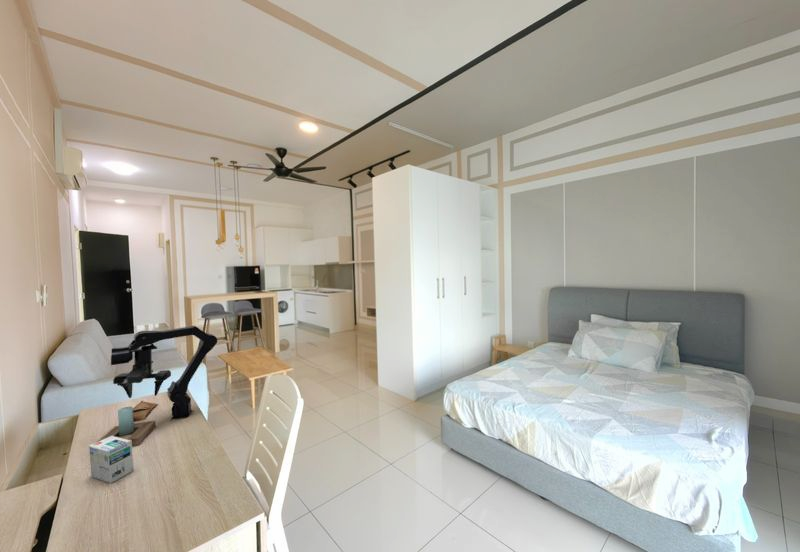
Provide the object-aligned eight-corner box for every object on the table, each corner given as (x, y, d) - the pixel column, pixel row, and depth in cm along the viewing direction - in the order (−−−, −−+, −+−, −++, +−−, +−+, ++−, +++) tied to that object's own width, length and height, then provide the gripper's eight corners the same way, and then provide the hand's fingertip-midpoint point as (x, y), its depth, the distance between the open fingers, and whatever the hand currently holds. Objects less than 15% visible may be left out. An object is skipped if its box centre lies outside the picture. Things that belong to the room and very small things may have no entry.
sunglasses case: (145, 420, 139) (135, 408, 138) (129, 430, 137) (119, 419, 136) (160, 403, 156) (151, 393, 154) (145, 412, 154) (136, 402, 152)
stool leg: (137, 435, 125) (135, 407, 125) (125, 442, 121) (123, 412, 121) (128, 435, 126) (126, 406, 126) (116, 441, 122) (114, 411, 121)
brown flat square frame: (155, 427, 132) (155, 420, 132) (138, 445, 119) (138, 437, 119) (115, 433, 128) (115, 426, 128) (93, 452, 115) (93, 444, 115)
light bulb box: (134, 470, 104) (132, 439, 104) (110, 484, 98) (108, 451, 97) (114, 464, 108) (112, 434, 107) (89, 477, 101) (87, 445, 101)
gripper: (104, 367, 123) (104, 406, 123) (160, 364, 128) (160, 401, 128) (121, 360, 133) (121, 396, 133) (171, 357, 139) (171, 391, 139)
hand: (143, 396), depth 133 cm, fingers open, 9 cm apart
